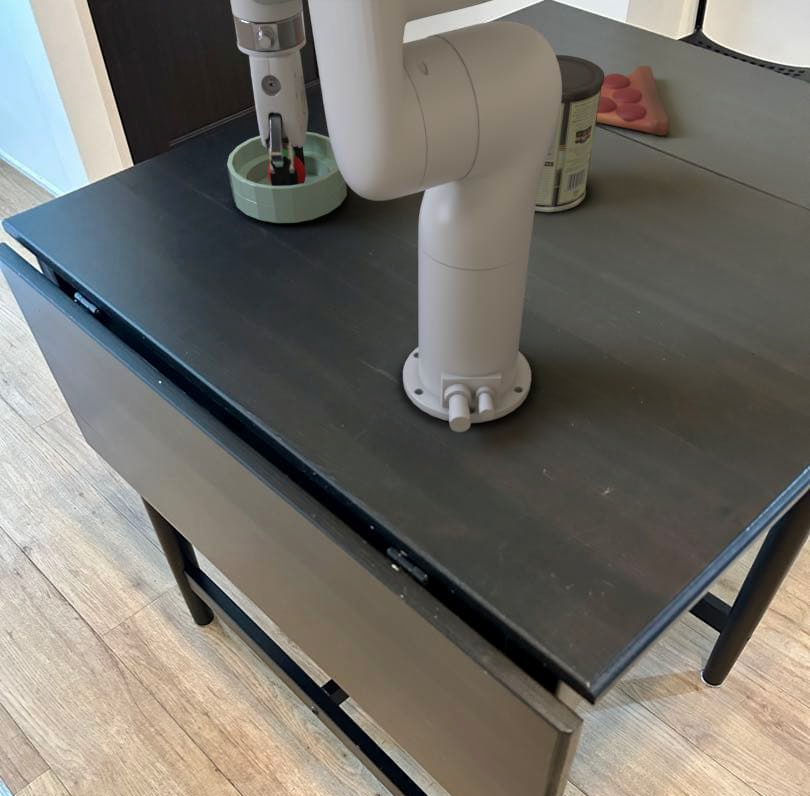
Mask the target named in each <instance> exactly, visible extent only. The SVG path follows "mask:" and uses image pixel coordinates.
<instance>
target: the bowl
mask: <svg viewBox="0 0 810 796" xmlns="http://www.w3.org/2000/svg"><path fill="white" fill-rule="evenodd" d="M303 153H304V162H305V172H306V178H305V182H304V183H302V184H296V185H291V186H272V184H271V182H270V180H269V176H268V169H269V165H270V161H269V148H268V149H267V148H266V147H264V146H263V145H262V141H261V137H260V135H258V136H257V135H256V136H254V137H252V138H249V139H247V140H246V141H244V142H242V143H240V144H239V145H237V146H236V147H235V148H234V149H233V150H232V151H231V152H230V153H229V154H228V155H229V156H228V159H227V163H226V166H227V171H228V178H229V182H230V187H231V193H232V198H233V201H234V203H235V207H236V208H237V209H238V210H240V211H241V212H242V213H243V214H245V215H246V216H248V217H250V218H253V219H256V220H259V221H261V222H267V223H268V222H269V223H275V224H296V223H301V222H306V221H307V222H308V221H313V220H315V219H317V218H321V217H323V216H326V215H327V214H330V213H331V212H332V211H334V210H335V209H337V208H339V207H340V206H341V205H342V203H343V202H344V200H345V199H346V197H347V196H348V184H347V183H346V181H345V180H344V178H343V176H342V174H341V172H340V170H339V168H338V165H337V163H336V160H335V156H334V153H333V150H332V146H331V142H330V137H329V136H326V135H323V134H320V133H317V132H310V131H307V132H306V138H305V143H304V145H303Z"/></svg>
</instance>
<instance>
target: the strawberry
mask: <svg viewBox="0 0 810 796" xmlns="http://www.w3.org/2000/svg"><path fill="white" fill-rule="evenodd" d="M283 153H284V156H286V157H287V159H288V150H283ZM293 153H294V169H297V172H298V181H299V184H302V183H304V182H305V178H306V172H305V168H304V165H303V163H302V162H301V160H300V159H299V158H298V157H296V156H295V151H294V150H293ZM268 176H269V180H270V182H271V177H270V165H269V169H268Z"/></svg>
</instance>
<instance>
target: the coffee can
mask: <svg viewBox="0 0 810 796" xmlns="http://www.w3.org/2000/svg"><path fill="white" fill-rule="evenodd" d="M555 55H556V58H557V61H558V64H559V68H560V73H561V81H562V99H561V108H560V113H559V118H558V123H557V127H556V130H555V134H554V137H553V140H552V143H551V146H550V149H549V152H548V155H547V158H546V162H545V165H544V168H543V172H542V176H541V180H540V184H539V189H538V194H537V200H536V206H535V212H540V213H555V212H562V211H563V212H564V211H567V210H569V209H573V208H574V207H576V206H578V205H579V204H580V203H582V202H583V200H584V199H585V197H586V194H587V190H586V188H587V183H588V176H589V172H590V171H589V170H590V163H591V158H592V151H593V144H594V140H595V139H594V137H595V131H596V125H597V122H596V120H597V113H598V107H599V100H600V93H601V87H602V85H603V82H604V77H605V71H604V70H603V69H602V67H600V66H599V65H597V64H596V63H594V62H592V61H590V60H588V59H585V58H582V57H578V56H573V55H565V54H555Z"/></svg>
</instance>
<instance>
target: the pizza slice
mask: <svg viewBox="0 0 810 796" xmlns="http://www.w3.org/2000/svg"><path fill="white" fill-rule="evenodd" d="M666 111H667V110H666V109H665V105H664V102H663V99H662V96H661V94H660V92H659V88H658V85H657V82H656V79H655V76H654V73H653V70H652V68H651V66H649V65H639V66H637V67H636V69H635V70H634V72H632V73H631V74H629V75H623V74H622V73H610V74H607V75H604V82H603V85H602V87H601V93H600V100H599V107H598V113H597V120H596V124H597V123H598V124H602V125H609V126H612V127H618V128H623V129H628V130H632V131H633V130H634V131H638V132H643V133H647V134H651V135H656V136H661V137H662V136H665V135H666V134H667V133H668V131H669V130H670V120H669V117H668V113H667V112H666Z"/></svg>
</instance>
